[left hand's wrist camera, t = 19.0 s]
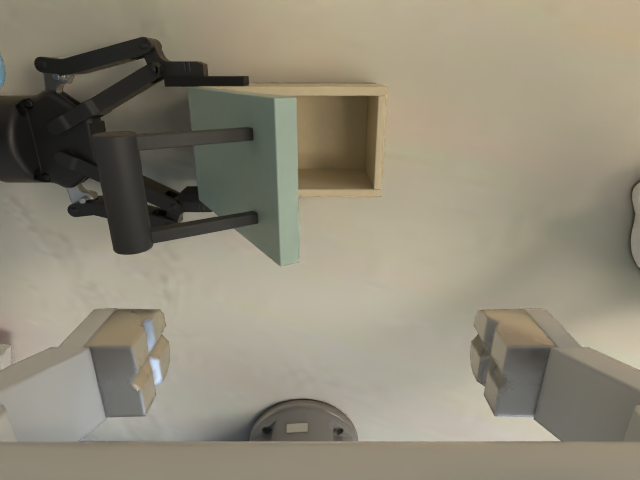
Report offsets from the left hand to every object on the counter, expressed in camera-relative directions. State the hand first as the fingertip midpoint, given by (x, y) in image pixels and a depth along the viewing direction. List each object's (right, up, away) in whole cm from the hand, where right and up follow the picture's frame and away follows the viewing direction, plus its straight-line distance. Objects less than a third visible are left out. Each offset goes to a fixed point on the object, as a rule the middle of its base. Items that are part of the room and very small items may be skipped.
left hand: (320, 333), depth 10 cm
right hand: (-6, +11, +28) cm, 31 cm away
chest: (-2, +14, +34) cm, 37 cm away
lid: (-5, +8, +19) cm, 21 cm away
